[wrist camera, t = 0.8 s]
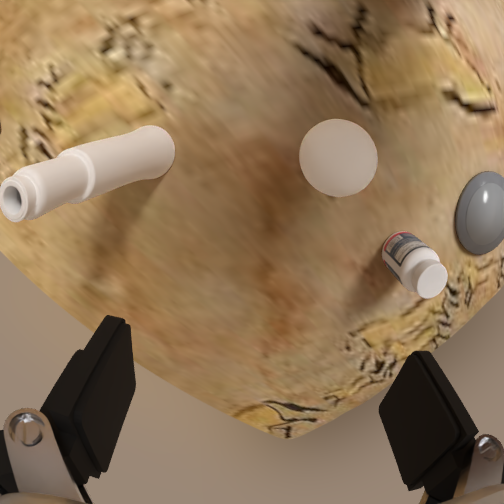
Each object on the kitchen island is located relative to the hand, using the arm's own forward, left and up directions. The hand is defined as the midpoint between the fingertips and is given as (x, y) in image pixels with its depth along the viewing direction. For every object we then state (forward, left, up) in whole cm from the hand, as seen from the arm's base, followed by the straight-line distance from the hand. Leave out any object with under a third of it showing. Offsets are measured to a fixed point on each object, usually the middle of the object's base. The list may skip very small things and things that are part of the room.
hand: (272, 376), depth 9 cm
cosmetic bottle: (+5, -12, -26) cm, 29 cm away
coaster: (-22, +23, -26) cm, 41 cm away
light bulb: (-8, +1, -26) cm, 27 cm away
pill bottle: (-8, +17, -26) cm, 32 cm away
